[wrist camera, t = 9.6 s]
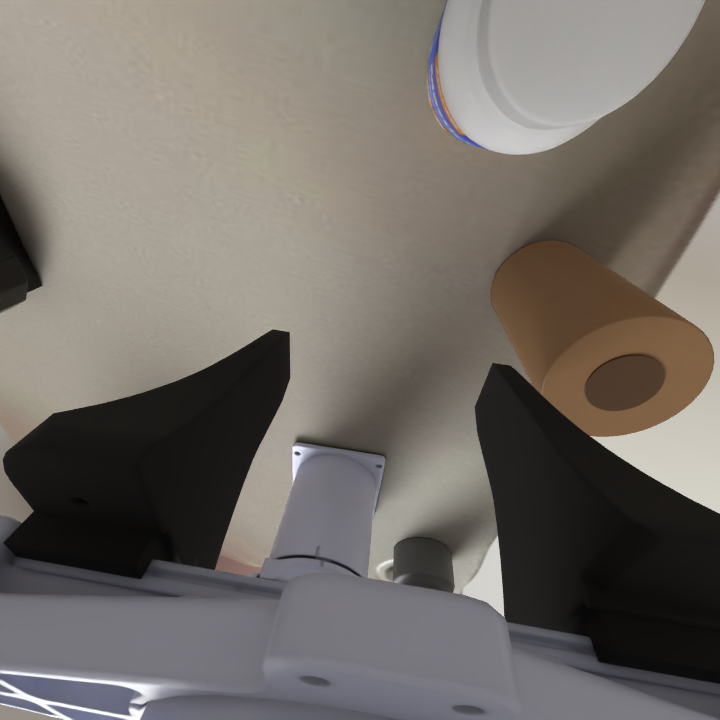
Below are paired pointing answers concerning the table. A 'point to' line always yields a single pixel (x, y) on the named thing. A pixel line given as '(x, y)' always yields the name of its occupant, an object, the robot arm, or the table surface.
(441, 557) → the candle holder
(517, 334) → the brown cylinder
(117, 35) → the table surface
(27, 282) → the switch box
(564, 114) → the pill bottle
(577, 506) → the robot arm
